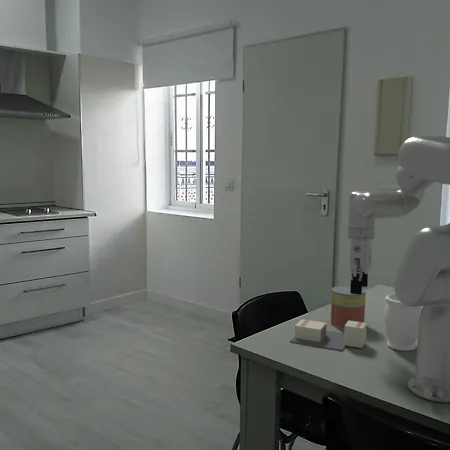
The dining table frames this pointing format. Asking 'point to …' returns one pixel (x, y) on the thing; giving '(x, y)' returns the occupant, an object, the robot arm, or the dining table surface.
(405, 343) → the jar
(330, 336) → the mat
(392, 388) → the dining table surface
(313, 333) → the cream striped box
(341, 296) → the canned food
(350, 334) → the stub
